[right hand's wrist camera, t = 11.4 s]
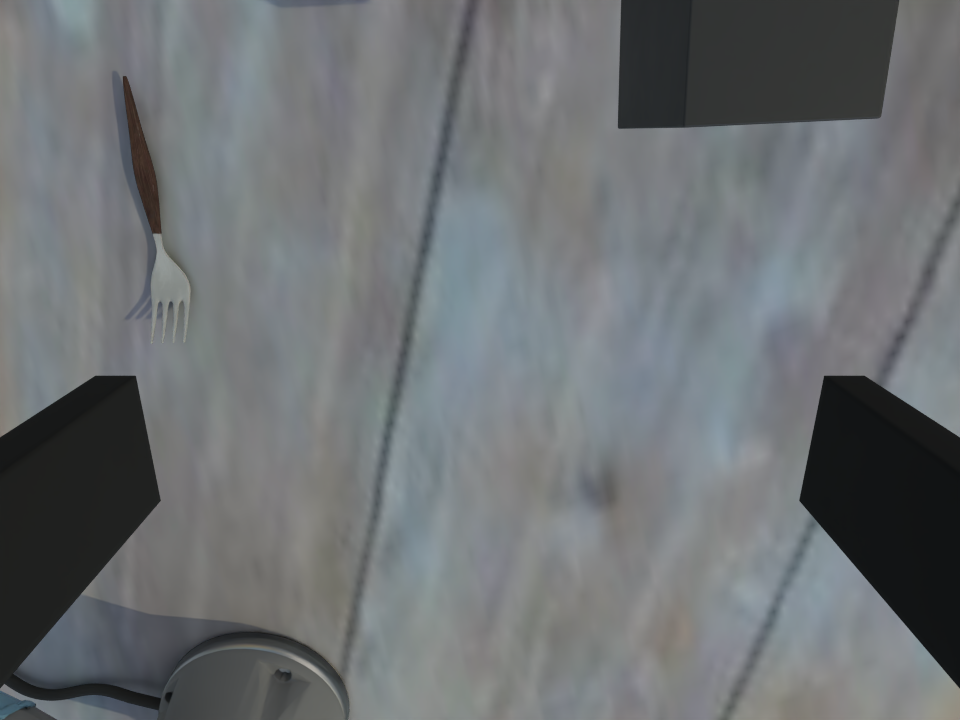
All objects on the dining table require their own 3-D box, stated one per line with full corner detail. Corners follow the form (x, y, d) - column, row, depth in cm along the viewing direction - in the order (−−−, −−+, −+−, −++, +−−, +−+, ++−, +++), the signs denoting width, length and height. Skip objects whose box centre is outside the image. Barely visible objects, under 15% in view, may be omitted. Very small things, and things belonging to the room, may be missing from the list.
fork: (151, 76, 38) (134, 73, 36) (200, 333, 43) (187, 343, 41) (107, 77, 38) (87, 75, 36) (161, 334, 43) (147, 344, 41)
